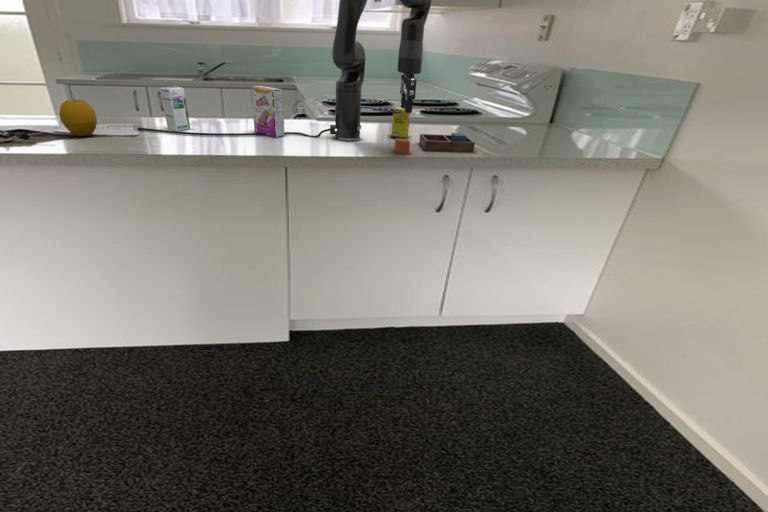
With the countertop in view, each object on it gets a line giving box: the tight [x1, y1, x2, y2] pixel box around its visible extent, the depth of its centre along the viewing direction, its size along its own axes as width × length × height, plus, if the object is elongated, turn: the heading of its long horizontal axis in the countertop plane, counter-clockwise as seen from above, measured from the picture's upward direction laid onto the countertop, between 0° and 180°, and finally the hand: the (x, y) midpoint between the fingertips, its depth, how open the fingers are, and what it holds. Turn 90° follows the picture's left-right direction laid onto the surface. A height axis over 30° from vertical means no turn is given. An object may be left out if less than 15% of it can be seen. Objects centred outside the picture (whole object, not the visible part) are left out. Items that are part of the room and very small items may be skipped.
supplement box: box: [390, 106, 411, 139], centre depth 164 cm, size 6×6×11 cm
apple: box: [59, 98, 98, 138], centre depth 135 cm, size 10×10×12 cm
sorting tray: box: [418, 133, 476, 154], centre depth 155 cm, size 18×11×4 cm, turn 96°
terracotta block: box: [394, 138, 411, 155], centre depth 144 cm, size 4×4×4 cm
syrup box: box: [159, 85, 191, 132], centre depth 151 cm, size 6×6×14 cm
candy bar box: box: [250, 85, 286, 138], centre depth 153 cm, size 11×5×16 cm, turn 58°
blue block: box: [450, 132, 467, 142], centre depth 155 cm, size 4×4×4 cm
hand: (406, 110), depth 139 cm, fingers open, 8 cm apart
